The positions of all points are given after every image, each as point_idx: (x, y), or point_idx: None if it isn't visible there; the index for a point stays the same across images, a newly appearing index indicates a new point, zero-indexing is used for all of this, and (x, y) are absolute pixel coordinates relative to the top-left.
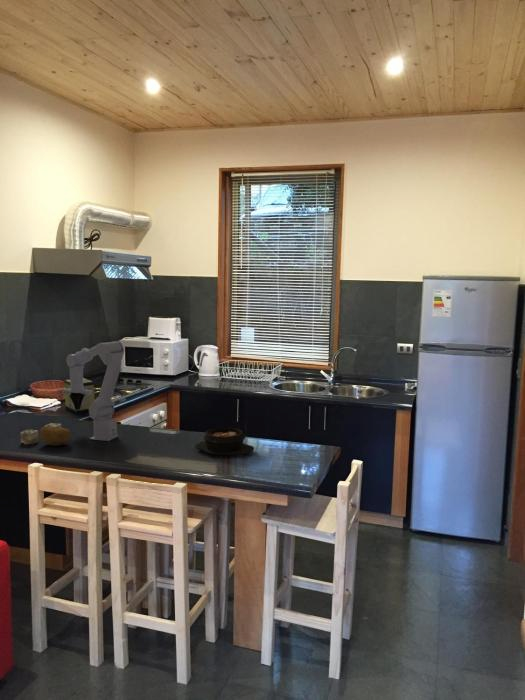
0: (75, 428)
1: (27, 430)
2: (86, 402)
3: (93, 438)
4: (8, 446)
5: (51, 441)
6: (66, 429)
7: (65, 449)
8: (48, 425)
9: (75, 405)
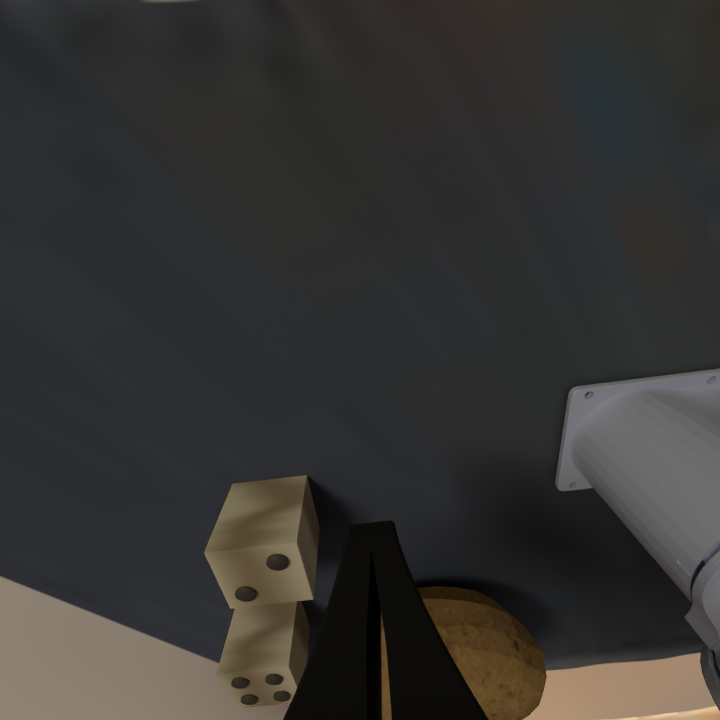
0: (269, 321)
1: (238, 688)
2: None
3: (584, 486)
4: None
5: None
6: (530, 701)
7: (512, 615)
8: (251, 600)
9: (380, 657)
